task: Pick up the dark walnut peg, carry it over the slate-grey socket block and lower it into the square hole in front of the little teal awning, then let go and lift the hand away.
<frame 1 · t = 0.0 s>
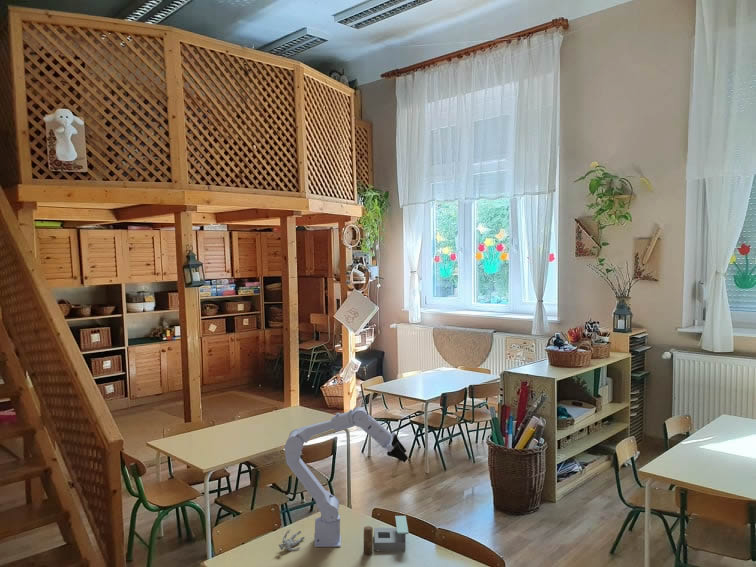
hand: (405, 456, 204), 32 cm above the table, tool tilted 50°, fingers open, 7 cm apart
grey branched piece: (291, 547, 201), on the table
peg: (367, 553, 196), on the table
socket block: (389, 542, 204), on the table
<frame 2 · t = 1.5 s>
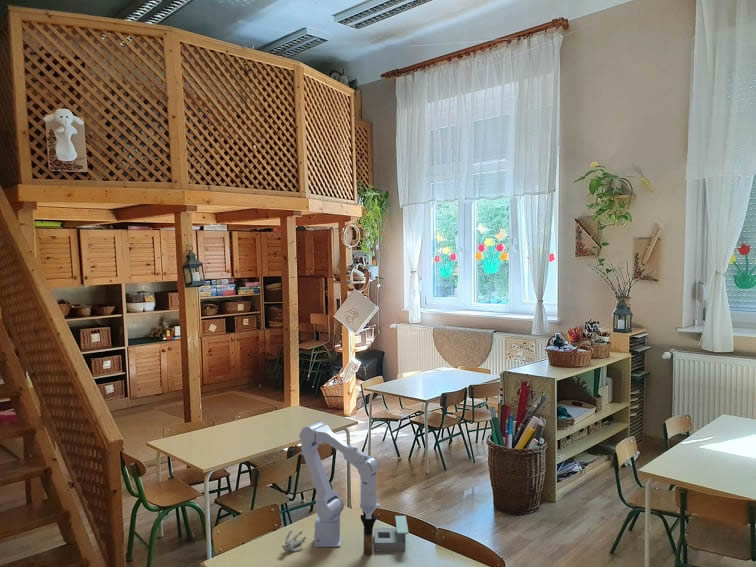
hand: (368, 529, 196), 9 cm above the table, tool pointing down, fingers open, 7 cm apart
grey branched piece: (294, 547, 200), on the table
everything else where it was.
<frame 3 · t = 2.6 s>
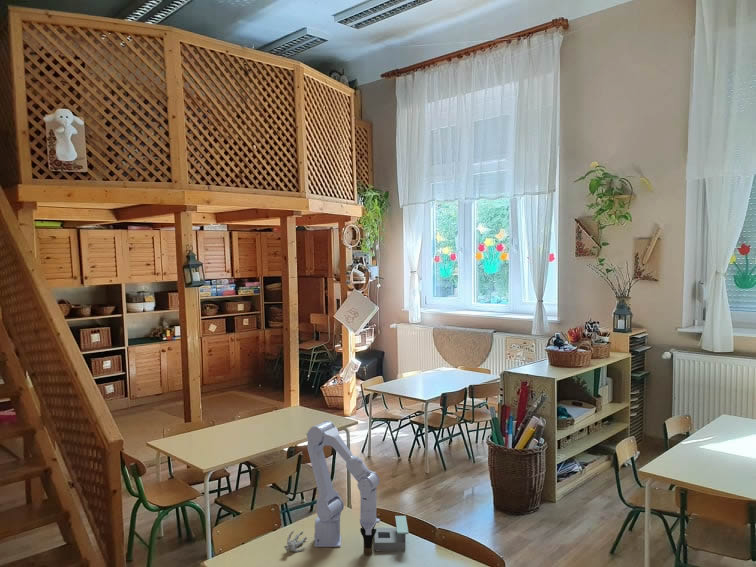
hand: (368, 545, 196), 3 cm above the table, tool pointing down, fingers closed on peg, 3 cm apart
peg: (367, 553, 196), on the table, touching gripper
everything else where it was.
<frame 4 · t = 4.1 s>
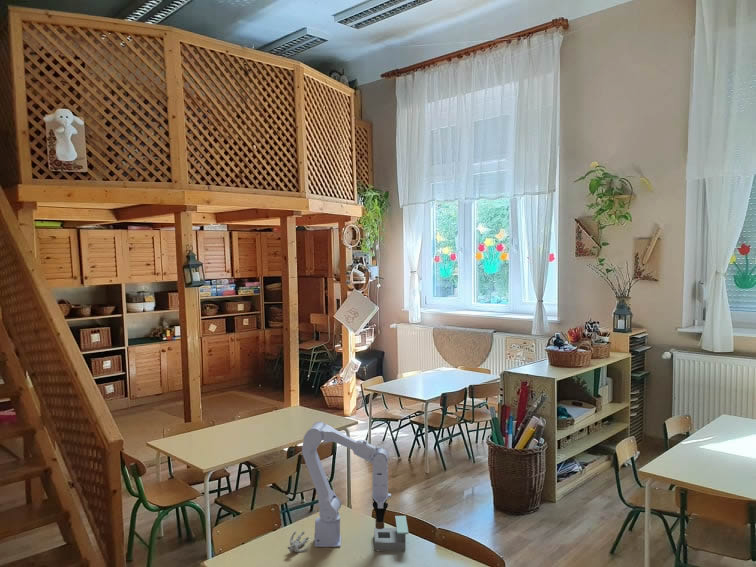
hand: (380, 519, 201), 10 cm above the table, tool pointing down, fingers closed on peg, 3 cm apart
grey branched piece: (298, 548, 200), on the table
peg: (379, 527, 201), point 7 cm above the table, touching gripper
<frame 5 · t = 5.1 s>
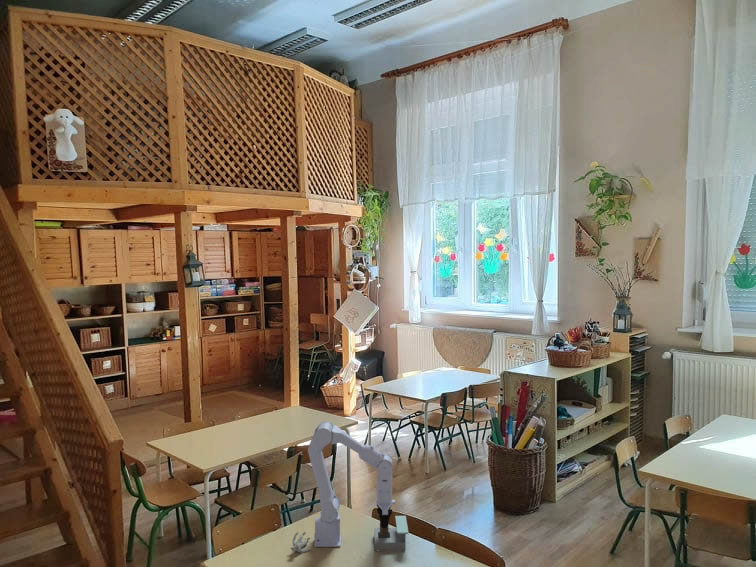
hand: (384, 525, 203), 7 cm above the table, tool pointing down, fingers closed on peg, 3 cm apart
peg: (384, 533, 203), point 4 cm above the table, touching gripper
when the fingers open (4 cm above the table, at t = 6.0 s): peg drops 1 cm, resting in socket block.
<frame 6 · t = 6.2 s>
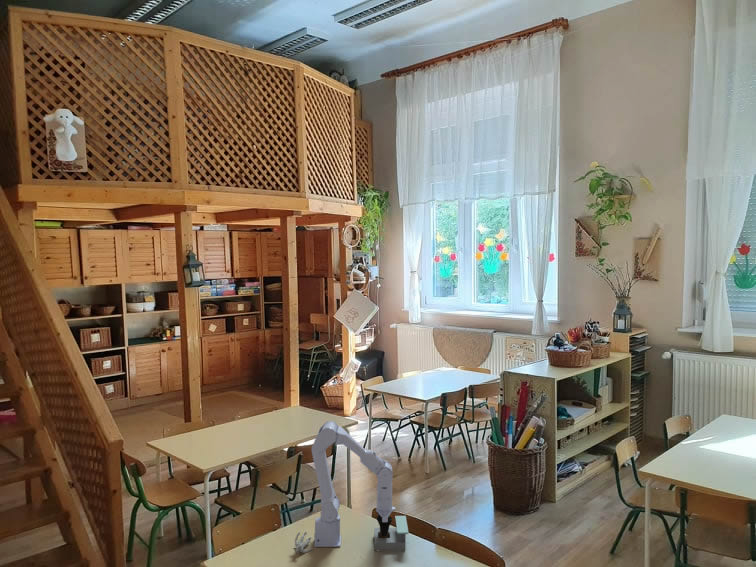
hand: (384, 532, 203), 4 cm above the table, tool pointing down, fingers open, 4 cm apart
peg: (383, 543, 204), resting in socket block
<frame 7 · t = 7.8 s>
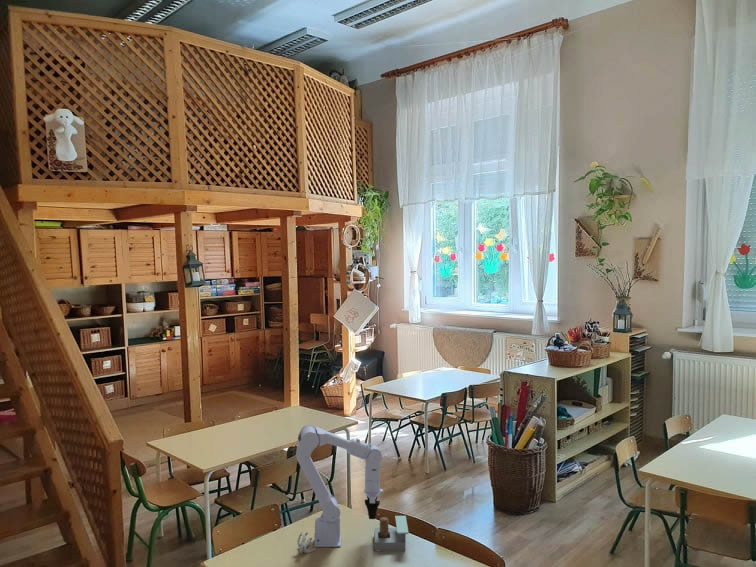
hand: (371, 514, 207), 9 cm above the table, tool pointing down, fingers open, 7 cm apart
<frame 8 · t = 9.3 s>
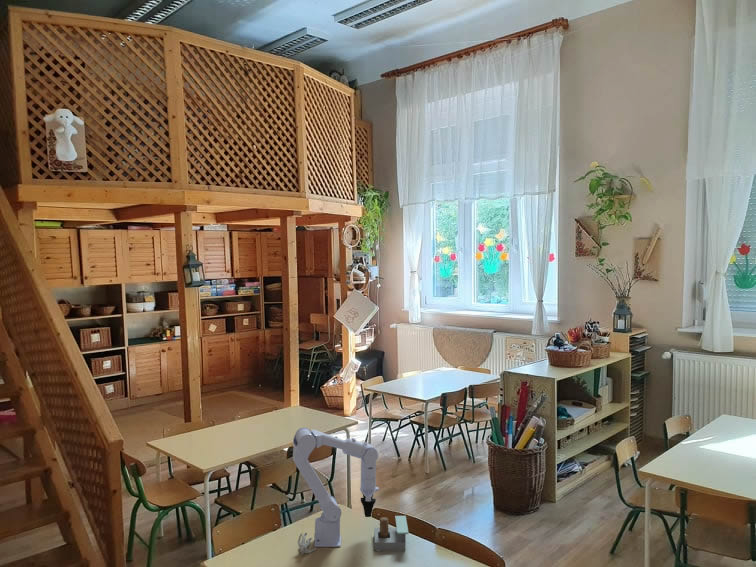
hand: (367, 511, 208), 9 cm above the table, tool pointing down, fingers open, 7 cm apart
at the end: peg 0.0 cm from the target spot on the socket block, point 0.0 cm above the socket block's base; peg tilted 0°; the gripper is holding nothing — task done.
